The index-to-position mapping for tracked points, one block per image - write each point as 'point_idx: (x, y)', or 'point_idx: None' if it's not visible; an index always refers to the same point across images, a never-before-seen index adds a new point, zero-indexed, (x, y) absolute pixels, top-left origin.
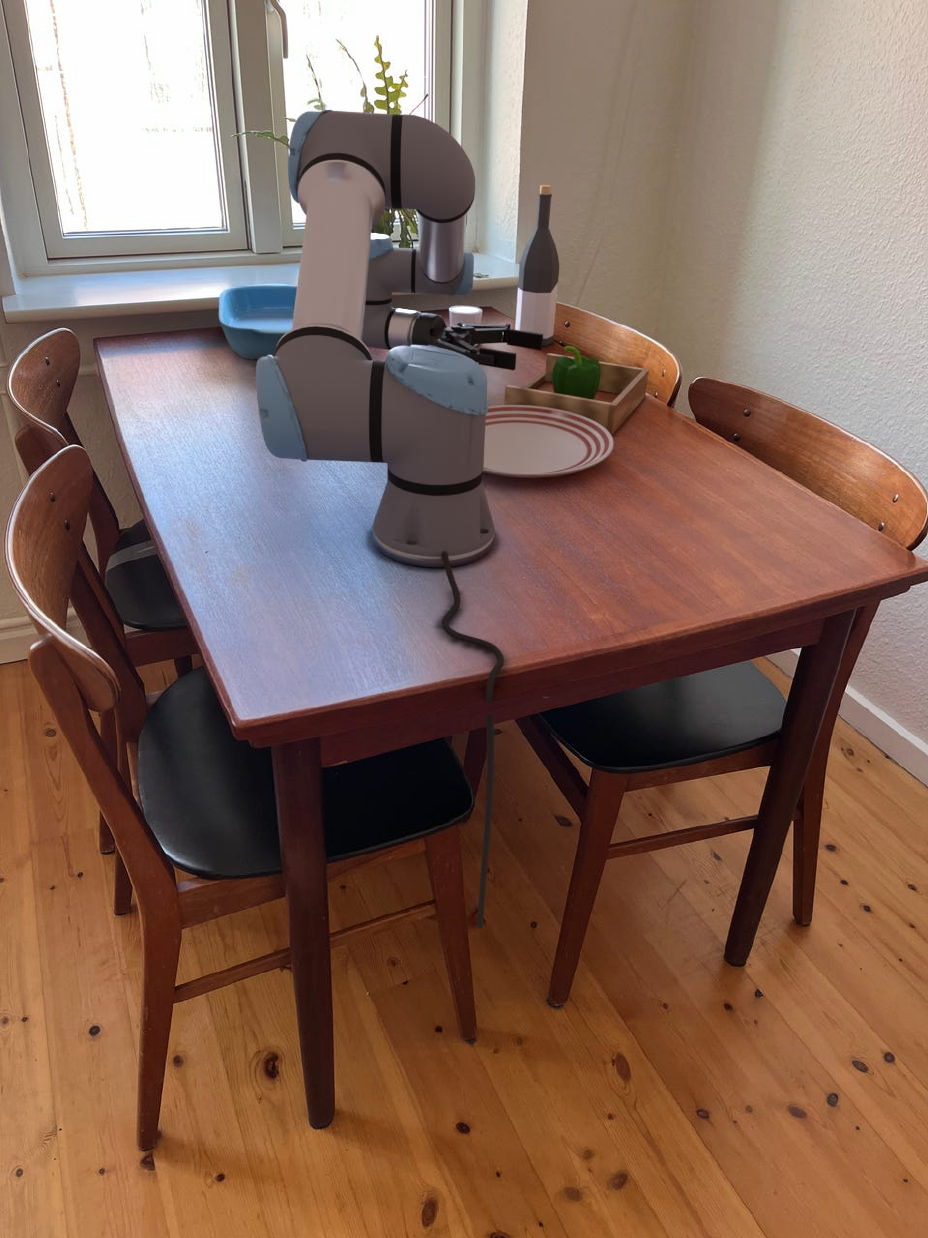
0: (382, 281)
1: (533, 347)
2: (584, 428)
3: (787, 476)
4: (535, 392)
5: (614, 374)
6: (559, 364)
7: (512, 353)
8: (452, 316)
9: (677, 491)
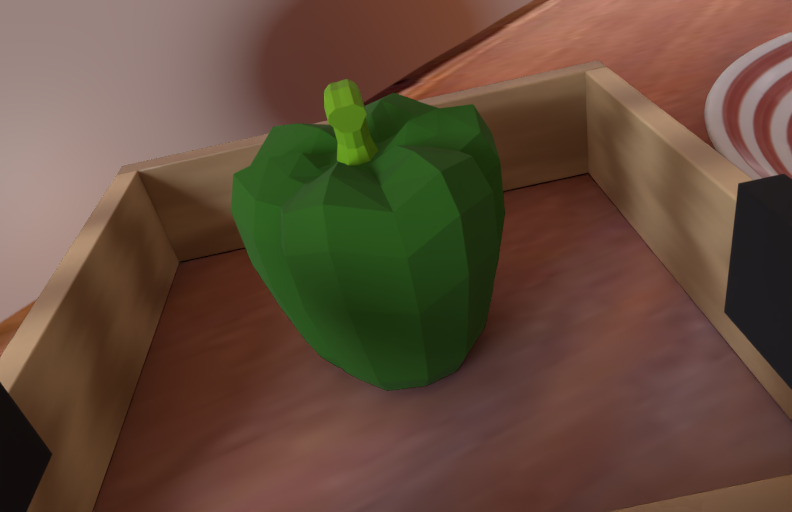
0: None
1: (16, 508)
2: (755, 112)
3: (517, 18)
4: None
5: (123, 261)
6: (462, 164)
7: (787, 192)
8: None
9: (769, 19)
